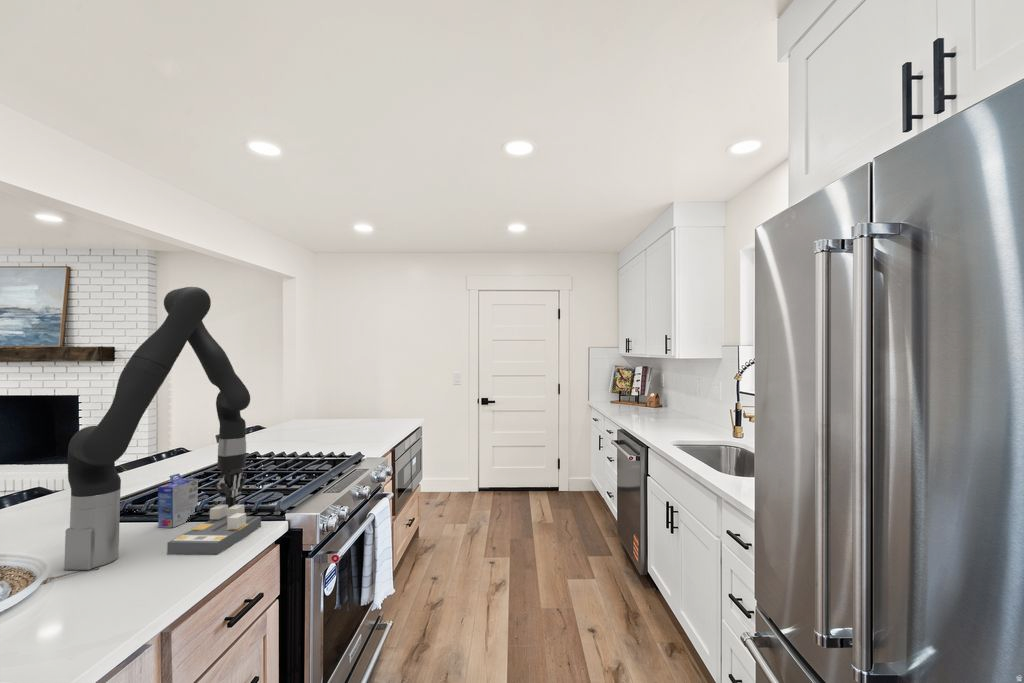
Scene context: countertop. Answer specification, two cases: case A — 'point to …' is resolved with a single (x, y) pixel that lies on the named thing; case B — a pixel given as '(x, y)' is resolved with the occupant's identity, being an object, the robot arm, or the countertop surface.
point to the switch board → (212, 537)
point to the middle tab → (235, 510)
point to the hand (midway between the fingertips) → (230, 508)
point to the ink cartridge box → (177, 501)
